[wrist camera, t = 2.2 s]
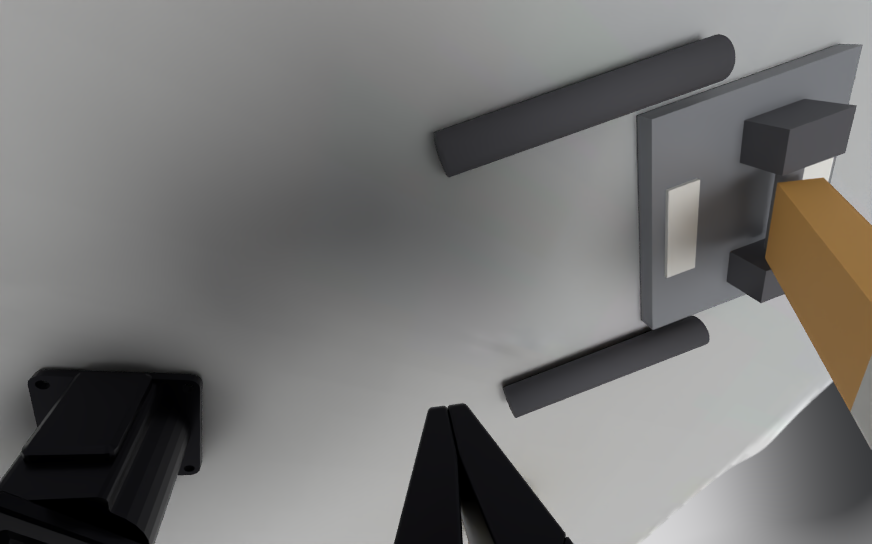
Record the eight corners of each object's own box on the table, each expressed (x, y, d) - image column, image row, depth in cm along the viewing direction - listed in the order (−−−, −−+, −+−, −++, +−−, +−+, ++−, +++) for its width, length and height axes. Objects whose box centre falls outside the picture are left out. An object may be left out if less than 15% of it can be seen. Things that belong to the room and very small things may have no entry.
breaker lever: (754, 243, 22) (880, 472, 12) (765, 163, 20) (931, 369, 10) (792, 240, 22) (956, 479, 12) (808, 157, 19) (1028, 371, 10)
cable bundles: (506, 401, 26) (518, 424, 24) (430, 128, 17) (440, 137, 16) (686, 332, 26) (708, 350, 25) (701, 34, 18) (737, 34, 16)
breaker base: (641, 319, 25) (679, 354, 22) (637, 115, 19) (689, 129, 16) (793, 261, 26) (849, 289, 23) (838, 44, 19) (923, 45, 17)
